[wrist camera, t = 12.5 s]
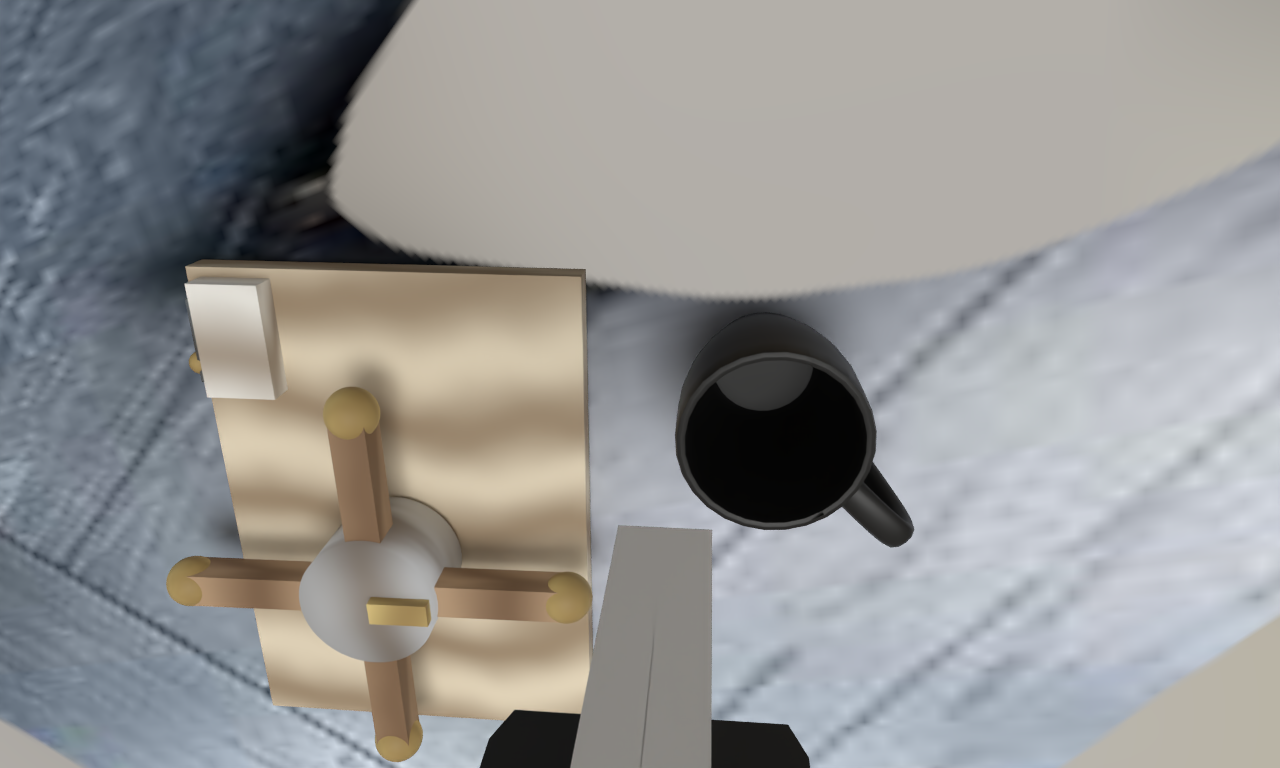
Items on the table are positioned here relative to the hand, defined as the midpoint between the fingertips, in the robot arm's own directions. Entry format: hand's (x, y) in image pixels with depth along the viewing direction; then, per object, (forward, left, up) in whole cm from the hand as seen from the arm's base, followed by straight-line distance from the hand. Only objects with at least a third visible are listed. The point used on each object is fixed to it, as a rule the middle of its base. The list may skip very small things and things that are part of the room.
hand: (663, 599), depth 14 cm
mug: (+8, +5, -30) cm, 31 cm away
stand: (+16, -16, -29) cm, 37 cm away
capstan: (+18, -16, -28) cm, 37 cm away
